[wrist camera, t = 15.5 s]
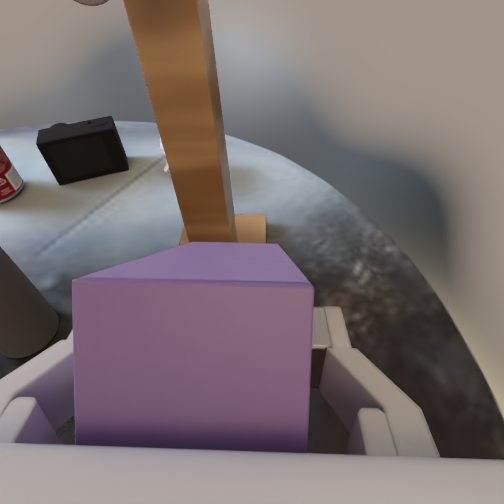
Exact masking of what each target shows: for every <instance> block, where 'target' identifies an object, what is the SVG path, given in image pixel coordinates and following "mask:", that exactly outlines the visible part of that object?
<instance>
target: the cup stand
mask: <svg viewBox="0 0 504 504" xmlns="http://www.w3.org/2000/svg"><path fill="white" fill-rule="evenodd" d="M74 1H76V2H79V3H80V4H84V5H88V6H97V5H101V4H104V3H105V2H107V1H108V0H74ZM124 5H125V8H126V12H127V15H128V19H129V22H130V27H131V30H132V34H133V37H134V41H135V45H136V49H137V52H138V56H139V60H140V63H141V67H142V70H143V74H144V78H145V82H146V86H147V89H148V93H149V97H150V100H151V104H152V107H153V111H154V115H155V119H156V122H157V126H158V130H159V133H160V137H161V141H162V144H163V148H164V152H165V156H166V159H167V163H168V167H169V170H170V174H171V178H172V181H173V185H174V189H175V192H176V196H177V200H178V203H179V207H180V211H181V214H182V218H183V222H184V227H183V231H182V235H181V239H180V243H179V246H181V245H184V244H187V243H190V242H226V243H263V244H266V214H249V215H234V207H233V199H232V191H231V183H230V175H229V166H228V158H227V150H226V142H225V134H224V126H223V118H222V110H221V103H220V93H219V86H218V77H217V69H216V61H215V53H214V46H213V37H212V29H211V21H210V13H209V4H208V0H124Z"/></svg>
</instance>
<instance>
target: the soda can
mask: <svg viewBox="0 0 504 504" xmlns="http://www.w3.org/2000/svg"><path fill="white" fill-rule="evenodd" d="M22 187H23V180H22V178H21V177H20V175H19V174H18V172H17V171H16V169H15V168H14V166H13V165H12V163H11V162H10V160H9V159H8V157H7V155H6V154H5V152H4V151H3V149H2V148H1V146H0V203H3V202H6V201H8V200H10V199H11V198H13V197H14V196H16V195H17V193H18V192H19V191H20V190H21V189H22Z"/></svg>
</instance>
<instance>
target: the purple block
mask: <svg viewBox="0 0 504 504" xmlns="http://www.w3.org/2000/svg"><path fill="white" fill-rule="evenodd" d="M313 308H314V287H313V286H312V284H311V283H310V282H309V280H308V279H307V278H306V277H305V276H304V275H303V273H302V272H301V271H300V270H299V269H298V267H297V266H296V265H295V264H294V263H293V261H292V260H291V259H290V258H289V257H288V255H287V254H286V253H285V252H284V251H283V249H282V248H281V247H280V246H279V245H278V244H263V243H226V242H190V243H187V244H184V245H181V246H177V247H174V248H171V249H168V250H165V251H162V252H158V253H155V254H152V255H149V256H146V257H143V258H140V259H136V260H133V261H130V262H127V263H124V264H121V265H117V266H114V267H111V268H108V269H105V270H102V271H98V272H95V273H92V274H89V275H86V276H83V277H80V278H77V279H74V280H73V281H72V314H73V359H74V405H75V445H88V446H117V447H146V448H174V449H202V450H230V451H258V452H287V453H307V450H308V427H309V403H310V379H311V356H312V332H313Z"/></svg>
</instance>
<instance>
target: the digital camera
mask: <svg viewBox="0 0 504 504" xmlns="http://www.w3.org/2000/svg"><path fill="white" fill-rule="evenodd" d="M36 145H37V147H38V149H39V150H40V152H41V154H42V156H43V157H44V159H45V161H46V163H47V164H48V166H49V168H50V170H51V171H52V173H53V175H54V177H55V178H56V180H57V182H58V183H59V185H63V184H68V183H72V182H76V181H81V180H85V179H90V178H94V177H98V176H103V175H107V174H112V173H116V172H120V171H125V170H129V169H128V163H127V157H126V154H125V151H124V148H123V145H122V143H121V140H120V137H119V134H118V132H117V129H116V126H115V123H114V121H113V118H112V116H108V117H103V118H98V119H93V120H87V121H82V122H77V123H72V124H65V123H57V124H54V125H53V126H51V127H50V128H47V129H42V130H39V132H38V137H37V143H36Z"/></svg>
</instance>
